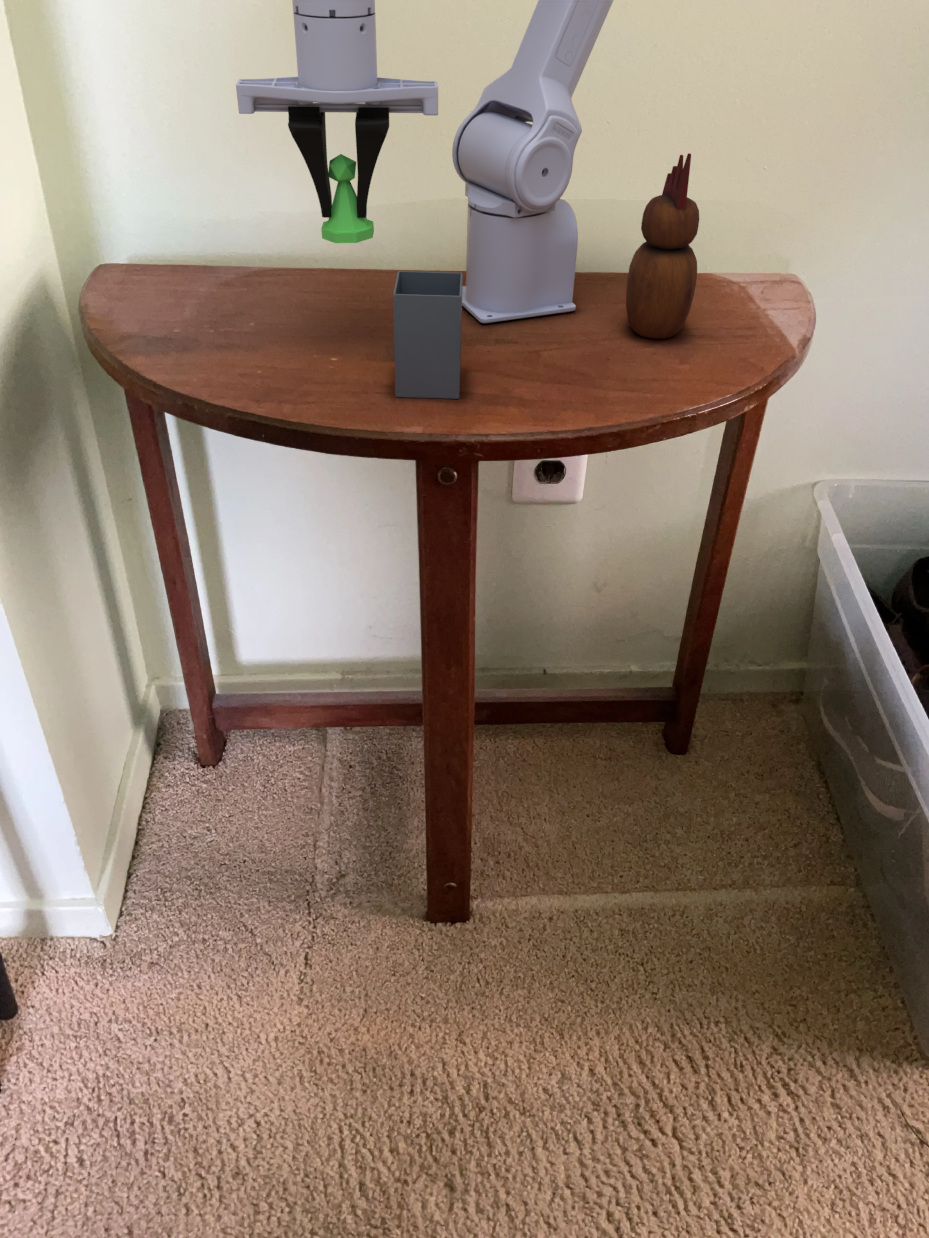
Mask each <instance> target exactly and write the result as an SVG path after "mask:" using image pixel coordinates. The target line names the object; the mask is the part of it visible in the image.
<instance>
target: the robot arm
mask: <svg viewBox="0 0 929 1238" xmlns="http://www.w3.org/2000/svg"><path fill="white" fill-rule="evenodd" d="M291 2H292V16H293V28H294V29H293V30H294V40H295V41H294V42H295V57H296V66H297V67H296V69H297V76H287V77H268V78H267V77H266V78H239V79H238V80H237V82H236V83H235V89H236V90H235V91H236V98H237V108H238V114H239V115H241V114H243V115H252V114H254V113H255V112H256V113H257V112H262V113H265V112H268V113H287V115H288V117H287V118H288V122H287V127H288V130H289V132H290V135H291V137H292V139H293V141H294V143H295V144H296V146H297V148H298V150H299V152H300V153H301V155H302V158H303V160H304V162H305V164H306V167H307V170H308V171H309V173H310V174H309V175H310V177H311V179H312V183H313V185H314V188H315V191H316V194H317V198H318V201H319V202H318V203H319V207H320V213H321V217H322V218H323V219H324V218H327V219H329V218H331V208H332V204H333V198H332V197H333V196H332V188H331V179H330V178H329V177H328V173H329V164H328V150H327V129H326V128H327V125H326V113H355V119H354V130H355V132H354V133H355V146H356V147H355V148H356V149H355V150H356V169H357V186H356V191H357V192H356V195H357V218H367V217H368V216H367V212H368V198H369V193H370V188H371V184H372V183H371V182H372V178H373V174H374V170H375V168H376V165H377V161H378V158H379V155H380V153H381V150H382V147H383V145H384V142H385V140H386V138H387V135H388V132H389V129H390V114H423V115H424V116H438V115H439V85H438V84H439V83H438V81H437V80H412V79H400V78H389V77H379V76H378V58H377V57H378V55H377V24H376V23H377V21H376V20H377V19H376V0H292V1H291ZM613 2H614V0H537V3H536V6H535V8H534V10H533V13H532V16H531V17H530V20H529V23H528V25H527V27H526V29H525V32H524V34H523V38H522V40H521V42H520V44H519V46H518V50H517V52H516V54H515V57H514V59H513V62H512V64H511V67H510V68H509V69H508V70H507V71H506V72H504V73H503V74H501V75H500V76H499V77H497V78H496V79H494V80H493V81H492V82H490V83H489V84H488V85H486V86H485V87H484V88H483V90H482V93H481V95H480V98H479V100H478V102H477V104H476V106H475V107H474V108H473V110H472V111H471V112H470V113H469V114H468V115H467V116H466V117H465V118H464V119H463V120H462V122H461V123H460V125H459V126H458V128H457V130H456V133H455V136H454V138H453V143H452V148H451V153H452V154H451V158H452V163H453V168H454V169H455V172H456V174H457V175H458V177H459V178H460V180H462V181H463V182H464V183H465V186H464V196H466V197H467V215H466V216H467V217H466V219H467V220H466V224H467V225H466V227H467V228H466V258H465V261H466V262H465V263H466V264H465V285H462V307H463V308H464V309H465V310H466V311H467V312H468V313H470V314H471V315H472V316H473V317H474V318H475V319H476V320H477V321H478V322H479V323H480V324H491V323H497V322H504V321H505V322H506V321H512V320H520V319H526V318H527V319H528V318H533V317H541V316H547V315H548V316H549V315H555V314H562V313H571V312H574V311H576V309H577V305H576V304H575V303H574V302H573V297H574V289H575V277H576V266H577V257H578V256H577V255H578V245H579V232H578V231H579V229H578V222H577V218H576V215H575V211H574V209H573V208H572V206H571V204H570V203H569V202H568V201H566V200H565V199H563V198H562V196H564V194H565V192H566V190H567V188H568V186H569V184H570V181H571V180H570V179H571V177H572V173H573V165H574V156H575V150H576V147H577V145H578V142H579V139H580V137H581V135H582V132H583V129H582V125H581V122H580V119H579V117H578V113H577V111H576V110H575V107H574V104H573V100H572V97H573V95H574V93H575V91H576V89H577V86H578V83H579V81H580V79H581V77H582V75H583V72H584V69H585V67H586V66H587V63H588V60H589V58H590V56H591V53H592V50H593V49H594V46H595V44H596V42H597V39H598V38H599V35H600V32H601V30H602V28H603V26H604V23H605V20H606V19H607V16H608V14H609V12H610V10H611V7H612V5H613ZM531 123H532V124H531Z"/></svg>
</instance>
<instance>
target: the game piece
mask: <svg viewBox="0 0 929 1238" xmlns="http://www.w3.org/2000/svg"><path fill="white" fill-rule="evenodd" d="M356 170H357V160H356V161H355V160H354V159H352V158H350V157H348V156H346V155H344V154H342V153H340V154H338V155H337V156H335V157H334V158H332V159H330V160H329V163H328V177H329V179H330V180H333V181H335V182H337V183H336V184H337V185H336V187H335V192H334V196H333V199H332V208H331V218H327V219H328V220H326V221H325V220H324V221H323V222H322V225H321V229H320V231H321V238H322V239H323V240H325V241H329V242H330V243H334V244H358V243H361V242H364V241H368V240H371V239H373V237H374V233H375V227H374V225H375V224H374V221H373V220H371V219H368V218H367V217H366V218H357V192H356V191H355V189H354V187H353V185H352V182H351V181H352V180H354V179H355V178H356Z"/></svg>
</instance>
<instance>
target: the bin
mask: <svg viewBox="0 0 929 1238" xmlns="http://www.w3.org/2000/svg"><path fill="white" fill-rule="evenodd" d="M463 276H464V273H463V272H456V271H455V272H453V271H452V272H450V271H422V270H421V271H417V270H397V274H396V279H395V284H394V288H393V293H392V301H393V302H392V303H393V304H392V305H393V306H392V309H393V346H394V347H393V351H394V386H395V387H394V393H395V395H394V397H395V398H412V399H413V398H414V399H415V398H417V399H423V398H424V399H447V400H449V399H450V400H451V399H453V400H459V399H460V393H461V392H460V390H461V388H460V387H461V372H462V371H461V368H462V367H461V365H462V323H463V305H462V287H463Z"/></svg>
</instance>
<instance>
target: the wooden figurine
mask: <svg viewBox="0 0 929 1238" xmlns="http://www.w3.org/2000/svg"><path fill="white" fill-rule="evenodd" d="M691 162H692V153H687V155H686V158H685V161H684V155H683V154H680V155H679V157H678V161H677V165H673V166H672V169H671V172H669V173H667V174H666V178H665V182H664V186H663V189H662V193H661V194H660V195H656V196H654V197H652V198H651V199H650V200H649V201H648V203H647V204H646V205H645V208H644V211H643V214H642V218H641V227H640V230H641V234H642V237H643V239H644V240H645V241H644V242H643V243H642V244H640V245H639V247H638V248H637V249H636V250H635V252H634V254H633V255H632V258H631V261H630V264H629V268H628V274H627V280H626V288H625V309H626V317H627V321H628V325H629V327H630V328H631V329H632V331H633V332H634V333H636V334H637V335H639V336H640V337H645V338H649V339H655V340H661V339H667V338H671V337H673V336H675V335H676V334H677V333H679V332H680V331H681V330H682V328H683V326H684V325H685V323H686V322H687V318H688V316H689V313H690V312H691V308H692V305H693V304H692V303H693V301H694V296H695V291H696V285H697V279H698V260H697V257H696V255H695V252H694V249H693V248H692V247H691V246H690V245H691V243H692V242H693V241H694V240H695V238H696V237H697V235H698V230H699V225H700V209H699V207H698V204H697V203H696V201H695V200H693V199H691V198H690V197H688V190H689V181H690V172H691Z"/></svg>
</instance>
